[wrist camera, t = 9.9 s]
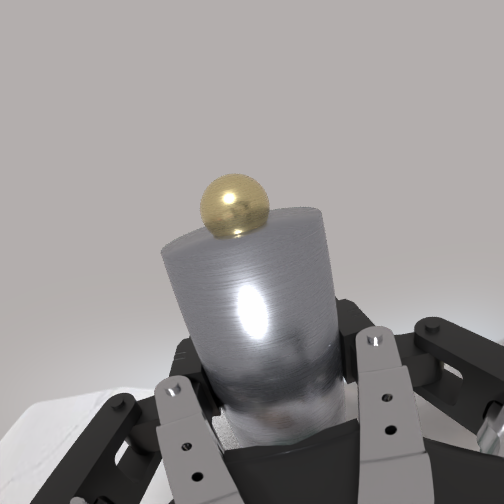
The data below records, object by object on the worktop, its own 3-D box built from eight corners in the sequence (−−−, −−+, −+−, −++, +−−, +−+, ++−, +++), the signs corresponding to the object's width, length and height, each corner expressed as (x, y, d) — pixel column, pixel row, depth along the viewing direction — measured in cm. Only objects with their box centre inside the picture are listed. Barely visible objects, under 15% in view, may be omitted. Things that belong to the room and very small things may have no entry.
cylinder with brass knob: (331, 404, 14) (290, 161, 10) (358, 470, 9) (334, 149, 6) (246, 425, 14) (165, 192, 10) (253, 496, 9) (118, 205, 6)
